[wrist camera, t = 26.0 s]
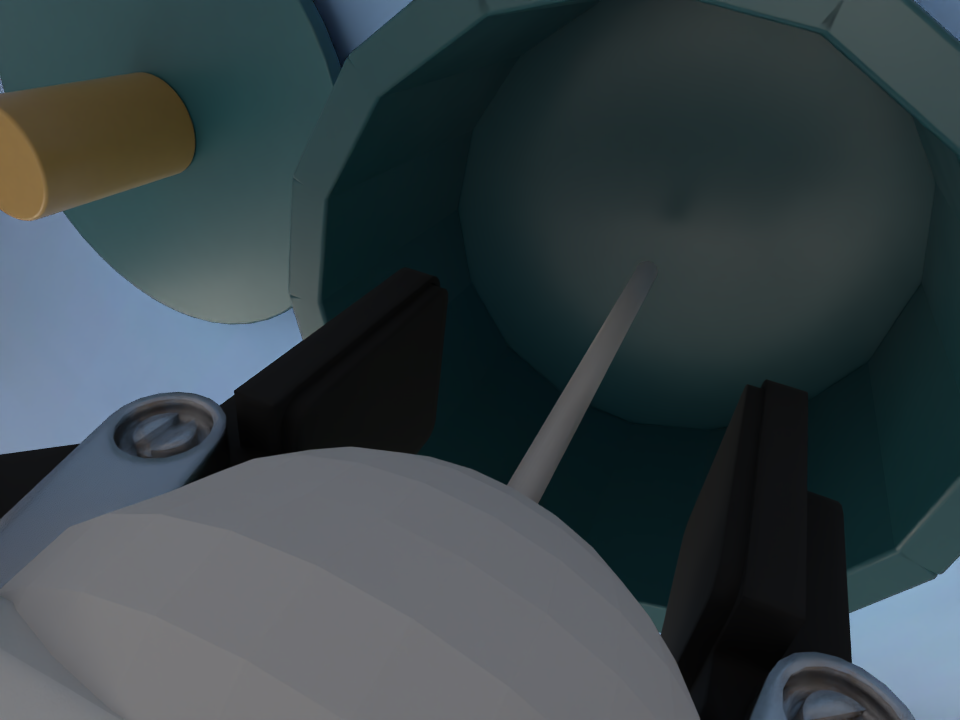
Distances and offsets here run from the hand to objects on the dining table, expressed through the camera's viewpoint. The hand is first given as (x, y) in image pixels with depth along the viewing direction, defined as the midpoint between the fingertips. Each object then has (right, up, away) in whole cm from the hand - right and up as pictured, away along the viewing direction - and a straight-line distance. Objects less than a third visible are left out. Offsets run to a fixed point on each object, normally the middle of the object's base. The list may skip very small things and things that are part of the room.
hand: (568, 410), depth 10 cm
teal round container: (+3, +4, +7) cm, 8 cm away
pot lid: (-11, +8, +11) cm, 17 cm away
